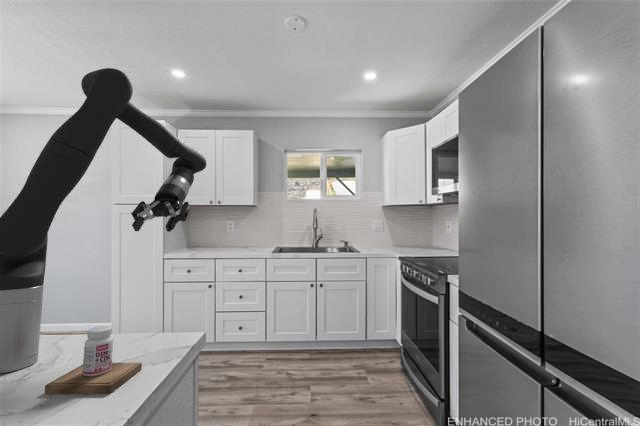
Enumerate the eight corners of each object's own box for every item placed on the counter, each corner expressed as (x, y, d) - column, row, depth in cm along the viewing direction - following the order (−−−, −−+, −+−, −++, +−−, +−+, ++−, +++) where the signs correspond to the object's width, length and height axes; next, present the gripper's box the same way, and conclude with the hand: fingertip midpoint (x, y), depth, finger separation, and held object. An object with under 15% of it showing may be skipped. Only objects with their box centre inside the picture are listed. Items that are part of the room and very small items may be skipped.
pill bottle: (96, 378, 58) (99, 333, 59) (75, 375, 59) (79, 331, 60) (117, 367, 63) (120, 326, 64) (97, 365, 64) (100, 324, 65)
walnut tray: (44, 393, 56) (45, 384, 56) (85, 369, 66) (85, 362, 66) (110, 393, 56) (111, 384, 56) (141, 369, 66) (141, 361, 66)
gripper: (145, 182, 90) (118, 218, 78) (193, 182, 91) (174, 219, 78) (153, 202, 95) (129, 239, 83) (199, 202, 96) (182, 239, 83)
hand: (151, 229), depth 81 cm, fingers open, 8 cm apart
